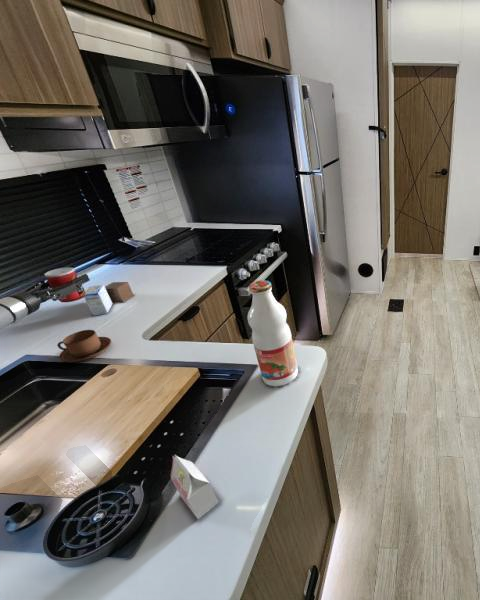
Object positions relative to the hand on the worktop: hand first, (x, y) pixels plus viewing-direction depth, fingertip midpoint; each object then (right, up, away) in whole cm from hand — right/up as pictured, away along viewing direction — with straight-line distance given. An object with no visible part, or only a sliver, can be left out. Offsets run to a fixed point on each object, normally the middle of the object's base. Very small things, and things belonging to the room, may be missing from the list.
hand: (75, 277), depth 126 cm
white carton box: (+87, -46, -65) cm, 118 cm away
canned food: (0, -8, -1) cm, 8 cm away
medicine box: (+12, -13, -2) cm, 18 cm away
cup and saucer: (+29, -25, -25) cm, 46 cm away
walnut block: (+12, -8, +6) cm, 16 cm away
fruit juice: (+91, -30, -35) cm, 102 cm away
